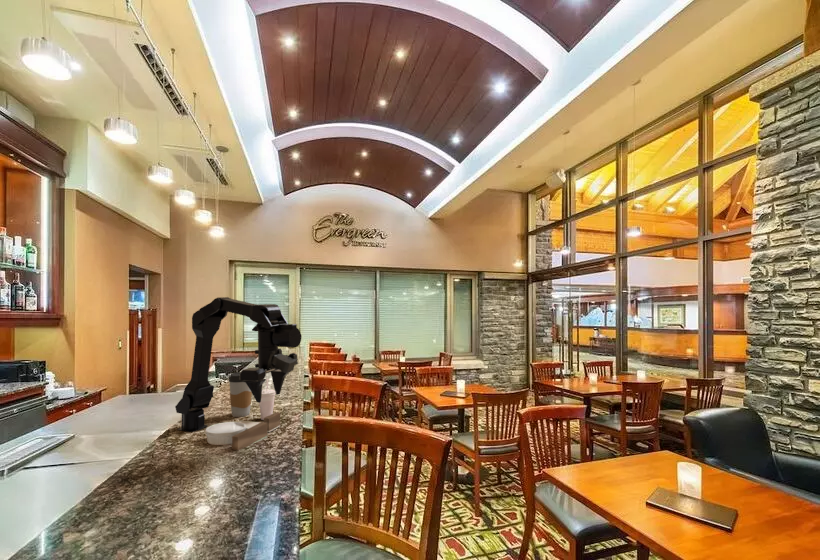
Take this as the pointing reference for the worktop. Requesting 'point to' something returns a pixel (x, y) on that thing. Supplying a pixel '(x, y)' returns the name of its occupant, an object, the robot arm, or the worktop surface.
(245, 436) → the wooden handled dough scraper
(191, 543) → the worktop surface
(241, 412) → the coffee cup
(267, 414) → the smoothie
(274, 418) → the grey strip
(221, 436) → the ramekin
